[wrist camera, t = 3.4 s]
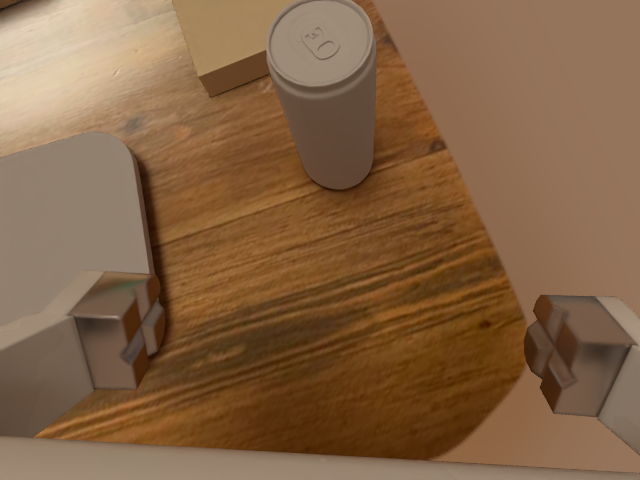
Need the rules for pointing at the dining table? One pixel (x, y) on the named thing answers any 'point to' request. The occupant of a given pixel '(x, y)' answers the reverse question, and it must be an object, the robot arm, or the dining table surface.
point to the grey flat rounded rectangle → (68, 219)
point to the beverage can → (326, 86)
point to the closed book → (227, 39)
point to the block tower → (7, 3)
